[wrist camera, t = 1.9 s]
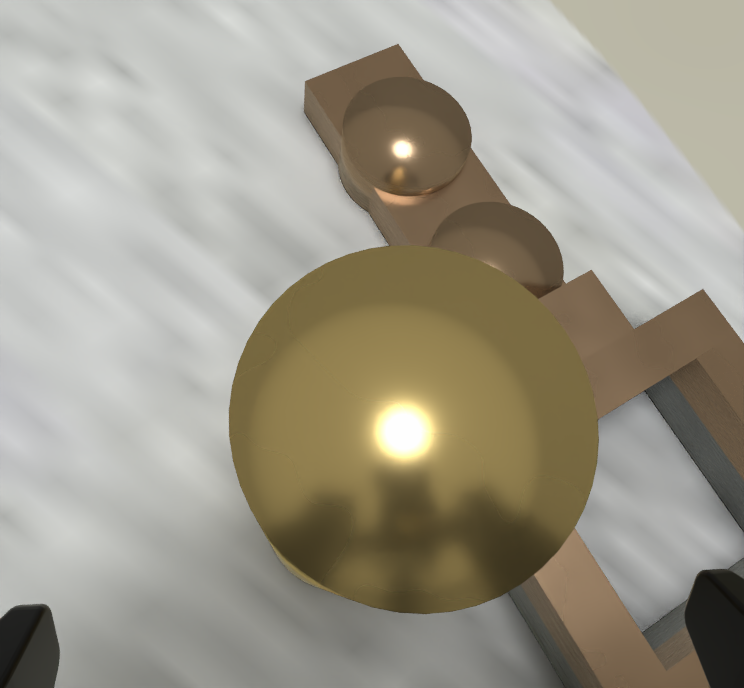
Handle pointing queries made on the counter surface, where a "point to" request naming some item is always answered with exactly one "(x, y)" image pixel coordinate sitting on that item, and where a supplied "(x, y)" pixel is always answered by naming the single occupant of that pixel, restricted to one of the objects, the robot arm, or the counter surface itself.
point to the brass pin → (413, 430)
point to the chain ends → (578, 318)
